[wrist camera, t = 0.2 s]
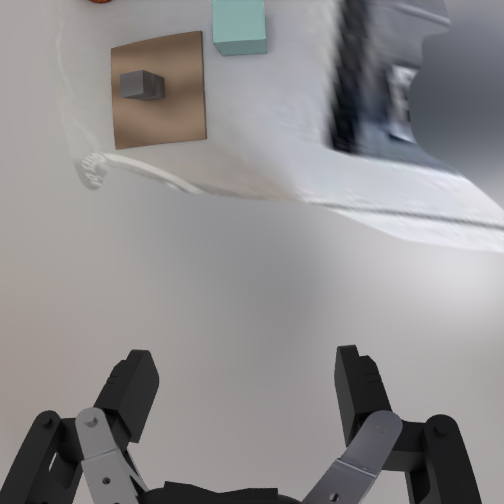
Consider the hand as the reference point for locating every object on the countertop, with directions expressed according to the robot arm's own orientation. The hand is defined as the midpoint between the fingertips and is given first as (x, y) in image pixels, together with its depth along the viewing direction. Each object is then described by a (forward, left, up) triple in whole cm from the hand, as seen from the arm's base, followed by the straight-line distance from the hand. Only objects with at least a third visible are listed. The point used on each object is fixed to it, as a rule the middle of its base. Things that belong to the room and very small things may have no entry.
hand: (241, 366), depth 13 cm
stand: (-15, -12, -29) cm, 34 cm away
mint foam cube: (-21, -1, -29) cm, 35 cm away
